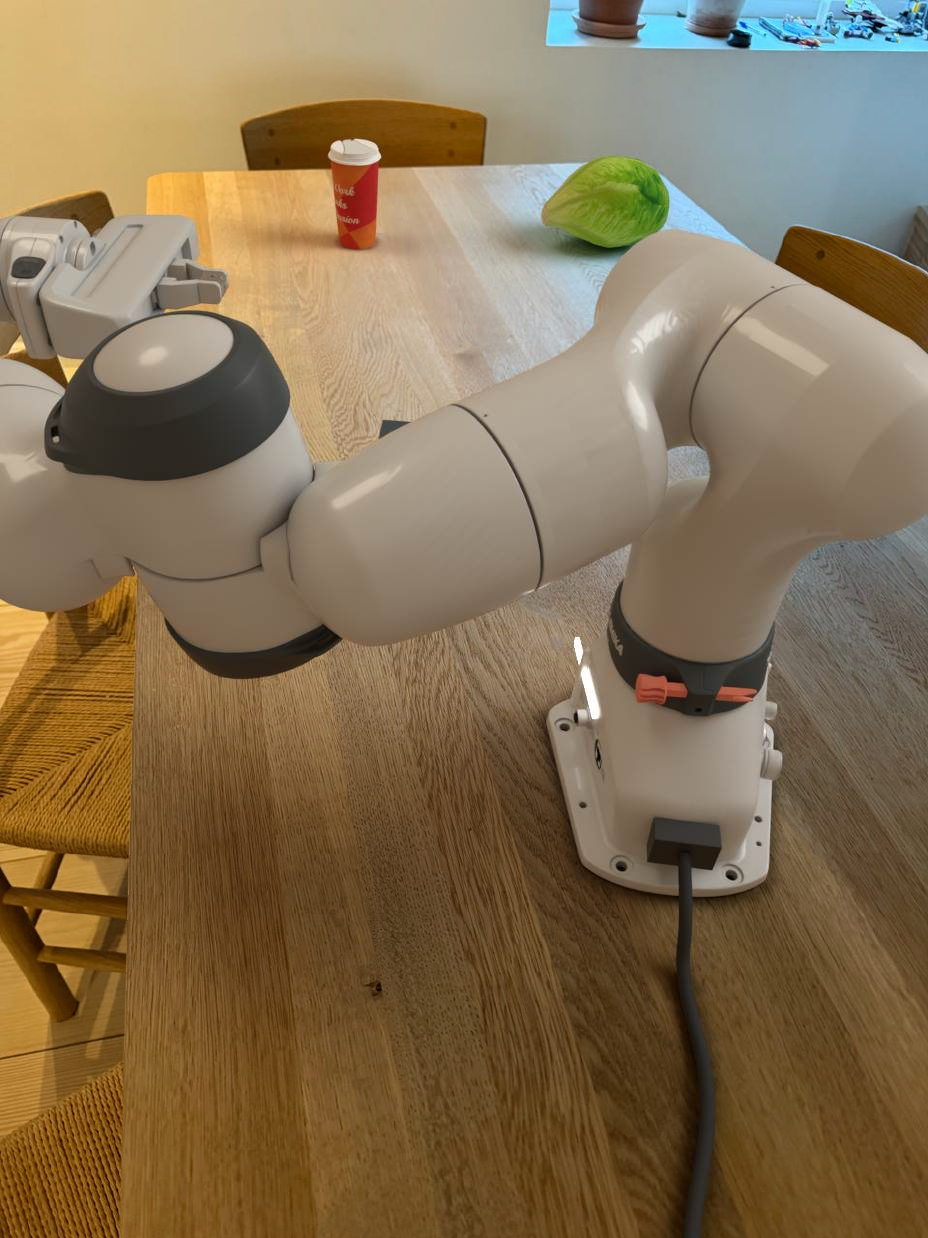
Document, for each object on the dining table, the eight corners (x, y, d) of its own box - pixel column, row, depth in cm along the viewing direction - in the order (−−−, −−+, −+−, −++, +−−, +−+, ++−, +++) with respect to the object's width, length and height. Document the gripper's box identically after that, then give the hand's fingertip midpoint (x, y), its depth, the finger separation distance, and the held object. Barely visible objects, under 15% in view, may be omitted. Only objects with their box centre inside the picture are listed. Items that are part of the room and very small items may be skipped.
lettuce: (528, 226, 156) (536, 137, 147) (646, 223, 159) (661, 136, 150) (550, 266, 145) (560, 173, 136) (676, 263, 148) (694, 171, 139)
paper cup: (325, 235, 150) (320, 139, 140) (371, 229, 152) (369, 135, 142) (342, 255, 145) (338, 157, 135) (389, 248, 147) (389, 152, 137)
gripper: (108, 259, 89) (255, 270, 89) (22, 369, 75) (198, 382, 75) (93, 190, 85) (248, 201, 85) (-1, 292, 70) (185, 306, 70)
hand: (224, 286), depth 80 cm, fingers closed
